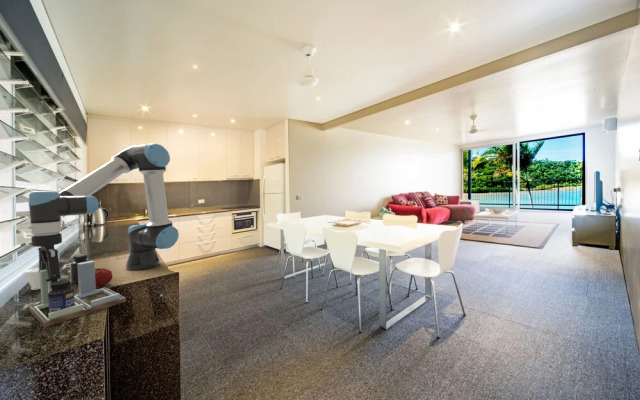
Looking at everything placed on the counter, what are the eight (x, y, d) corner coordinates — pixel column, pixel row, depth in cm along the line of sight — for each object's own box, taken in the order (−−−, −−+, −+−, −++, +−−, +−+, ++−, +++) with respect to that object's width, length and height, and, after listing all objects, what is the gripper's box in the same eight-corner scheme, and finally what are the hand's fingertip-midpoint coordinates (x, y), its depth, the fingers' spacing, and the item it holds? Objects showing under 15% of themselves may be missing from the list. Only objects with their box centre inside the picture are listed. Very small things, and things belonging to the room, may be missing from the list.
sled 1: (67, 298, 99) (64, 265, 98) (85, 312, 87) (83, 275, 87) (32, 308, 91) (29, 272, 91) (47, 324, 80) (44, 283, 79)
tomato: (94, 283, 116) (93, 266, 115) (117, 281, 118) (116, 264, 117) (79, 291, 107) (78, 272, 106) (105, 289, 108) (104, 270, 108)
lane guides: (105, 290, 107) (104, 286, 107) (125, 301, 96) (125, 297, 96) (29, 311, 90) (29, 306, 90) (44, 327, 78) (43, 322, 78)
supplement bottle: (85, 283, 117) (83, 256, 116) (67, 284, 115) (65, 258, 114) (94, 278, 123) (93, 253, 123) (77, 279, 122) (75, 254, 121)
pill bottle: (70, 316, 85) (68, 283, 85) (45, 321, 82) (43, 286, 82) (78, 308, 91) (76, 277, 90) (54, 312, 88) (52, 280, 87)
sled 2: (100, 289, 107) (98, 259, 107) (121, 301, 96) (119, 267, 95) (71, 297, 100) (69, 264, 99) (90, 310, 88) (87, 273, 88)
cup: (22, 292, 107) (21, 273, 107) (33, 284, 116) (32, 267, 115) (46, 288, 110) (44, 270, 110) (55, 281, 119) (54, 264, 119)
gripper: (24, 233, 96) (28, 292, 97) (38, 238, 84) (43, 305, 85) (53, 230, 103) (56, 285, 103) (70, 234, 90) (74, 297, 91)
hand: (50, 294), depth 94 cm, fingers open, 10 cm apart
